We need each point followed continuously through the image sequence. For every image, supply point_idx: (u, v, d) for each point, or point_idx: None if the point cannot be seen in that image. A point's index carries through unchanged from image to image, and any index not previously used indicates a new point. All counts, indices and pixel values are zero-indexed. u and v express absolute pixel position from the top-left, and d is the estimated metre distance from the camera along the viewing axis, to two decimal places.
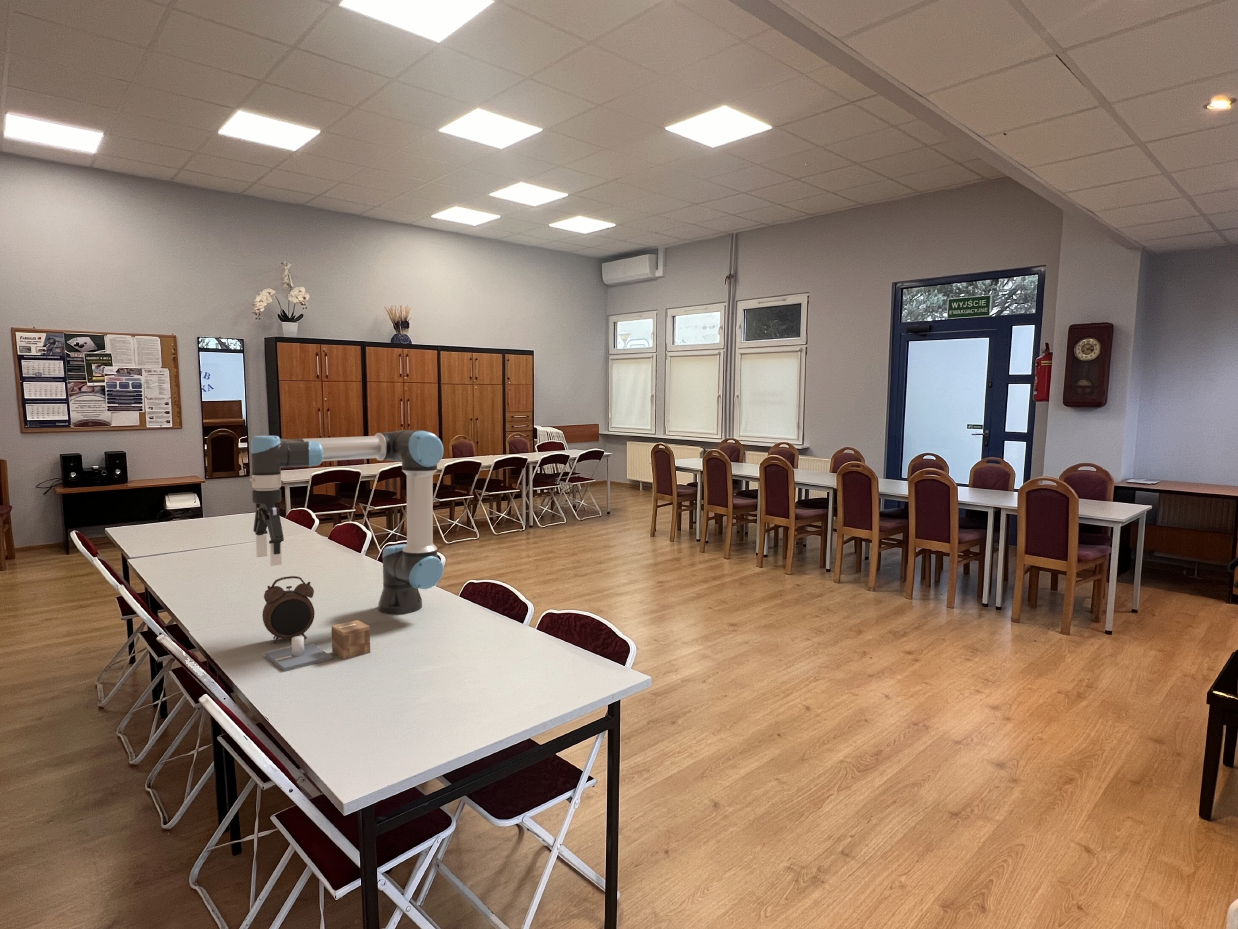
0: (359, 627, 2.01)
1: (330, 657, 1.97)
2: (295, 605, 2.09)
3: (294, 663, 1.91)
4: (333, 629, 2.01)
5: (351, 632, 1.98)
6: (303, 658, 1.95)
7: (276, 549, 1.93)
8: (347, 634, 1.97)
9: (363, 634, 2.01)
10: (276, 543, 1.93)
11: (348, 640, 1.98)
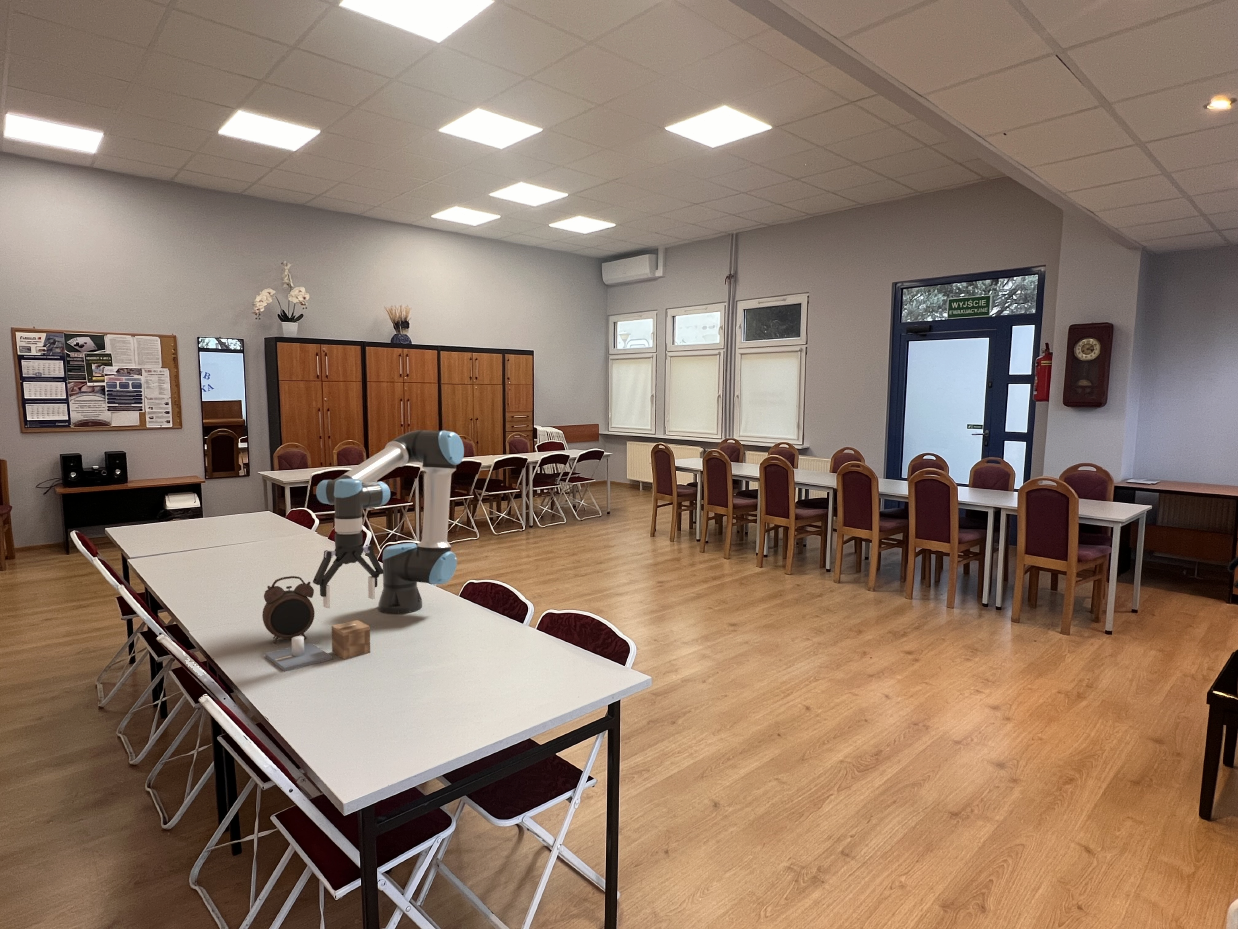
0: (359, 627, 2.01)
1: (330, 657, 1.97)
2: (295, 605, 2.09)
3: (294, 663, 1.91)
4: (333, 629, 2.01)
5: (351, 632, 1.98)
6: (303, 658, 1.95)
7: (320, 591, 1.95)
8: (347, 634, 1.97)
9: (363, 634, 2.01)
10: None
11: (348, 640, 1.98)
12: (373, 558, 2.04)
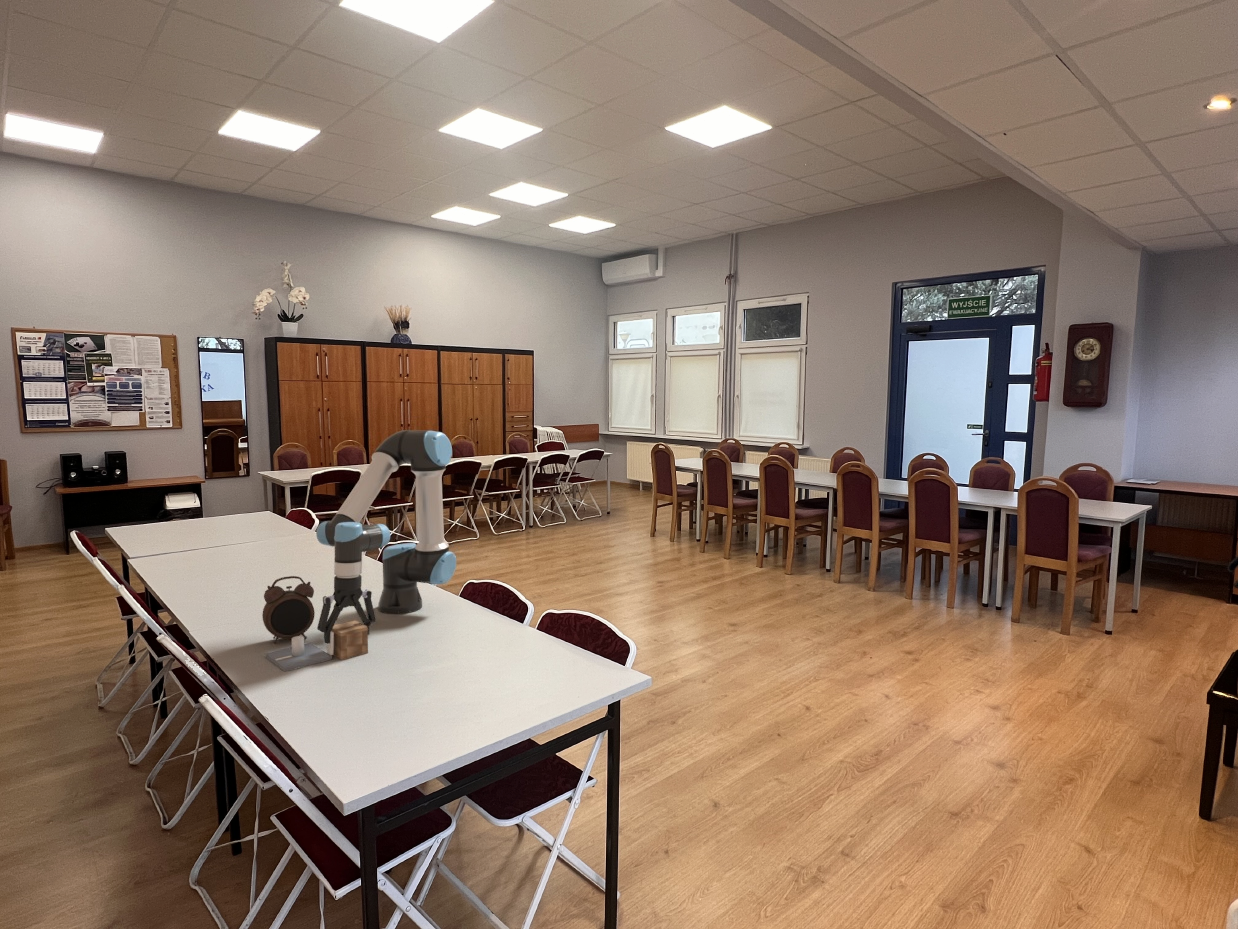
0: (357, 628, 2.00)
1: (330, 657, 1.97)
2: (295, 605, 2.09)
3: (294, 663, 1.91)
4: None
5: (349, 632, 1.98)
6: (303, 658, 1.95)
7: (324, 638, 1.97)
8: (345, 634, 1.97)
9: (361, 635, 2.00)
10: (324, 632, 1.97)
11: (346, 641, 1.97)
12: (369, 604, 2.05)
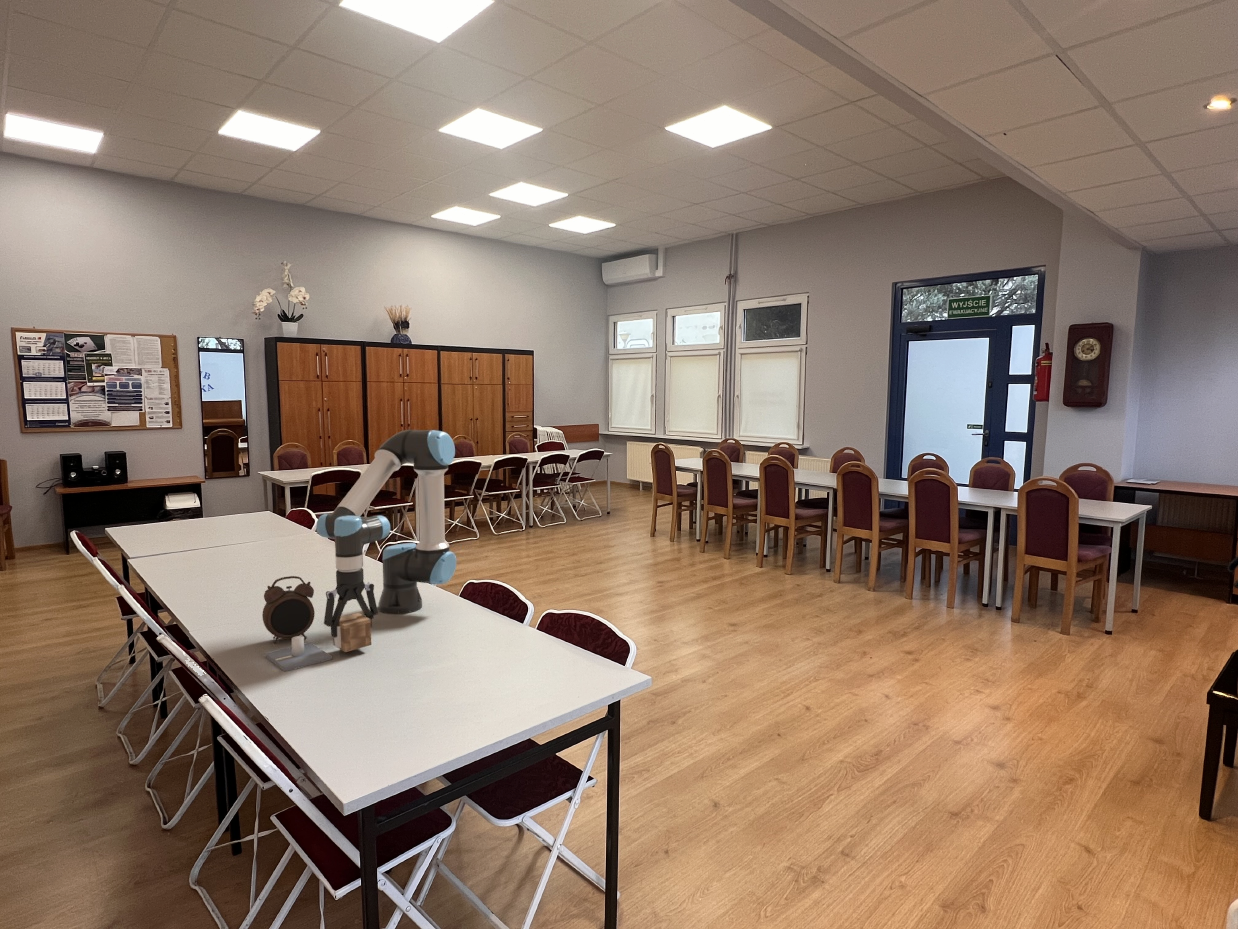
0: (360, 620, 2.01)
1: (330, 657, 1.97)
2: (295, 605, 2.09)
3: (294, 663, 1.91)
4: None
5: (352, 625, 1.99)
6: (303, 658, 1.95)
7: (331, 632, 1.99)
8: (348, 627, 1.98)
9: (364, 627, 2.01)
10: None
11: (349, 633, 1.98)
12: (371, 597, 2.05)
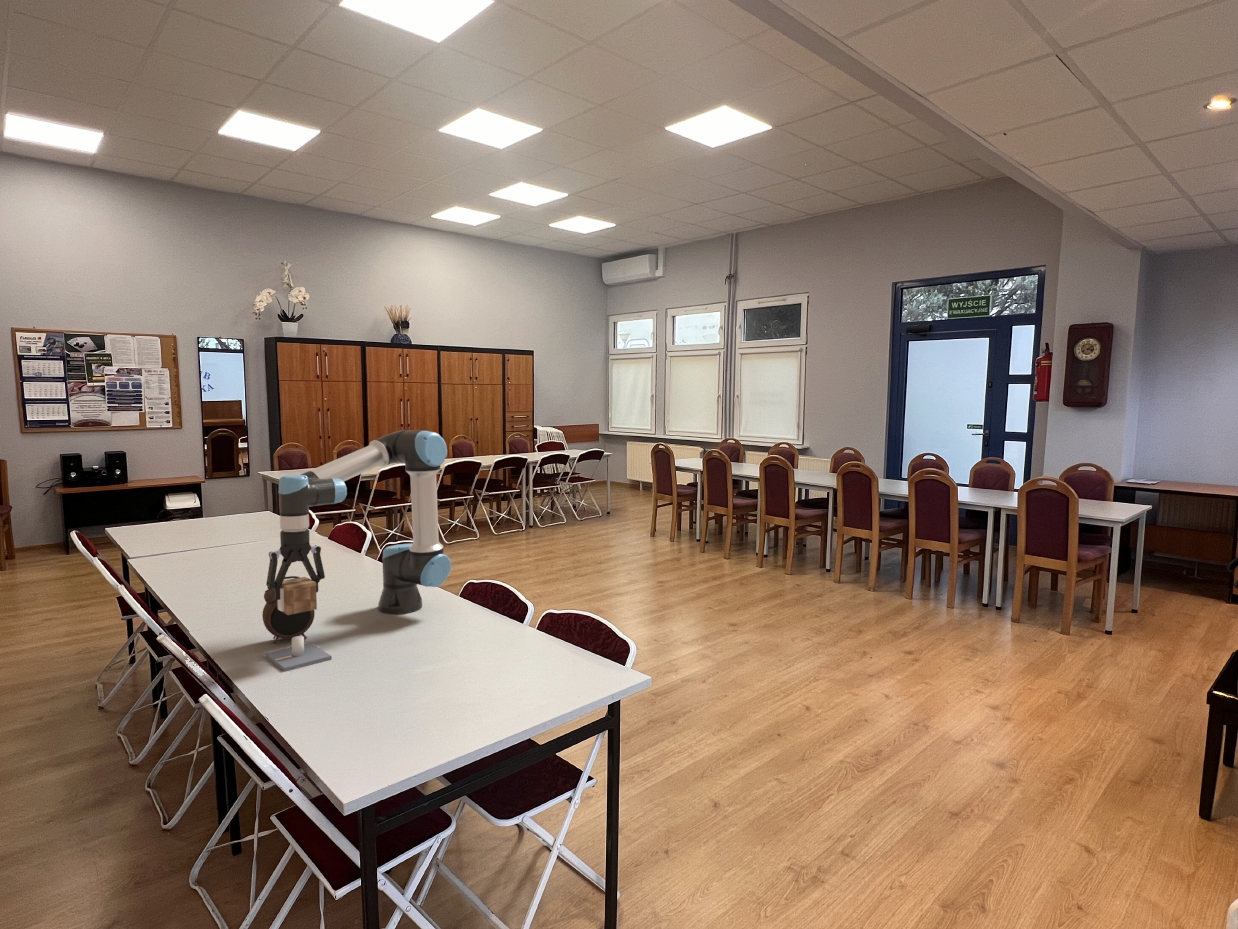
0: (305, 583, 1.94)
1: (330, 657, 1.97)
2: None
3: (294, 663, 1.91)
4: None
5: (296, 587, 1.92)
6: (303, 658, 1.95)
7: (274, 594, 1.92)
8: (292, 589, 1.91)
9: (309, 590, 1.94)
10: None
11: (292, 595, 1.91)
12: (318, 560, 1.99)
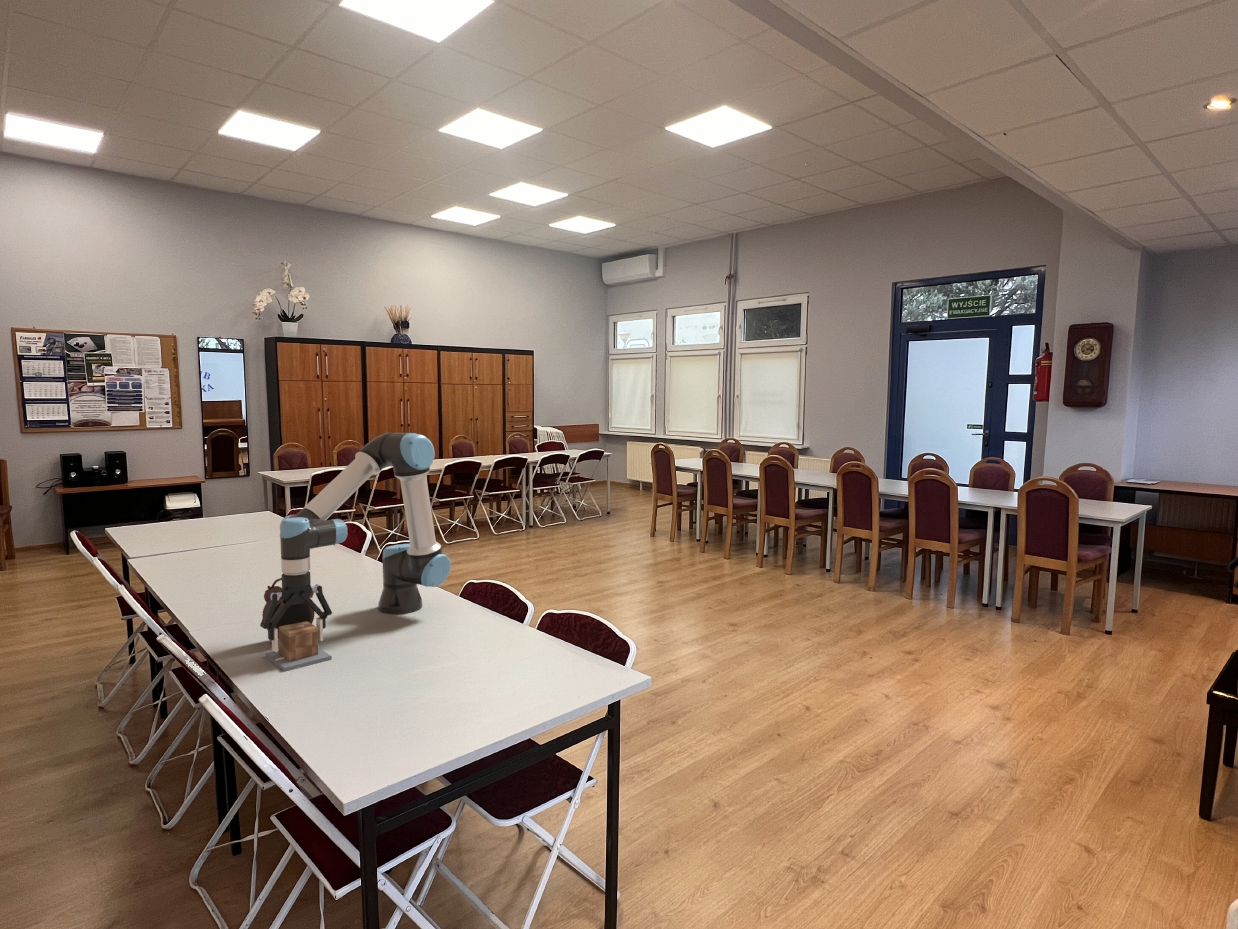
0: (307, 628, 1.96)
1: (330, 657, 1.97)
2: (295, 605, 2.09)
3: (294, 663, 1.91)
4: (280, 630, 1.96)
5: (298, 633, 1.93)
6: (303, 658, 1.95)
7: (268, 635, 1.91)
8: (294, 635, 1.92)
9: (311, 636, 1.96)
10: None
11: (294, 641, 1.93)
12: (322, 599, 2.00)
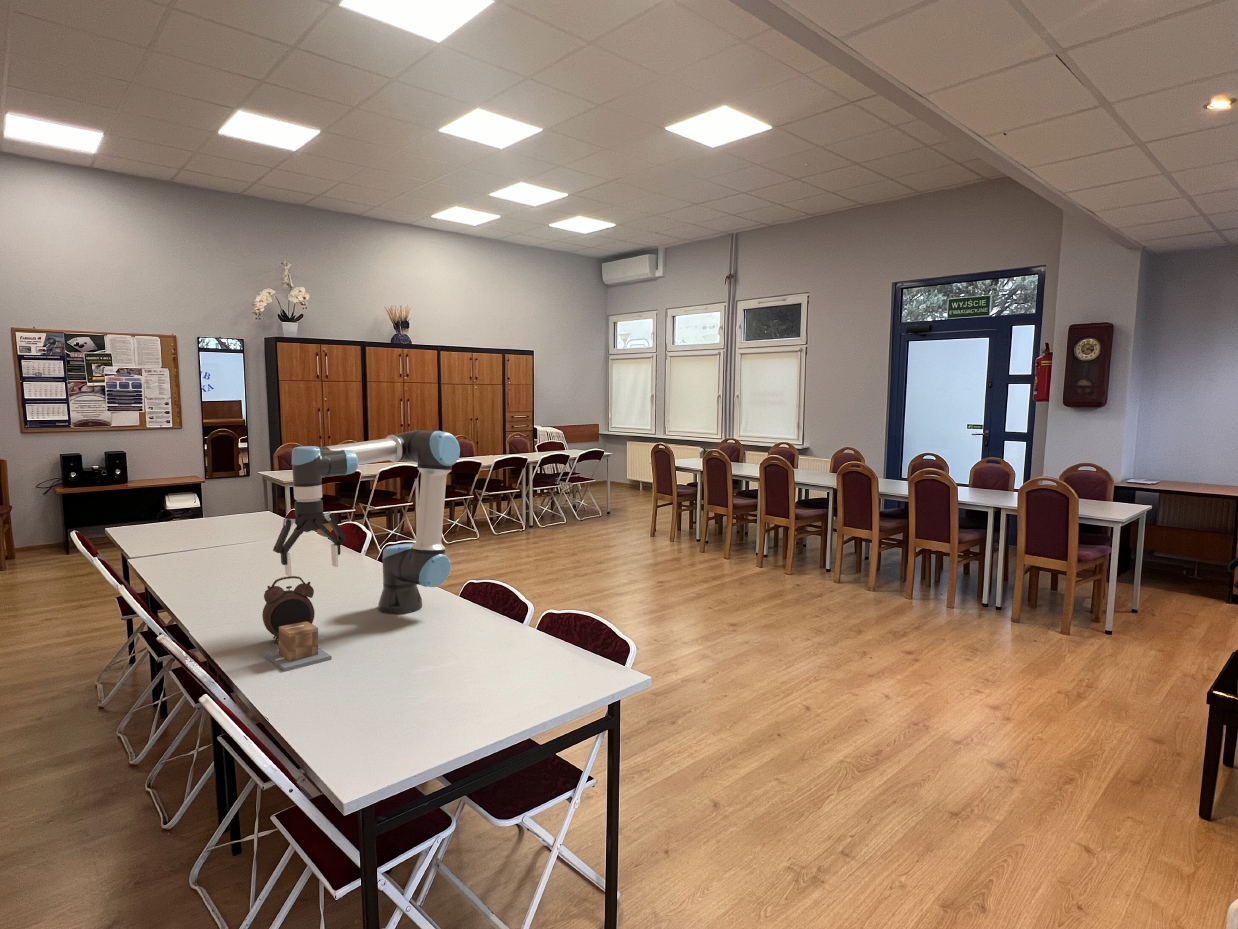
0: (307, 628, 1.96)
1: (330, 657, 1.97)
2: (295, 605, 2.09)
3: (294, 663, 1.91)
4: (280, 630, 1.96)
5: (298, 633, 1.93)
6: (303, 658, 1.95)
7: (281, 559, 1.94)
8: (294, 635, 1.92)
9: (311, 636, 1.96)
10: (280, 553, 1.94)
11: (294, 641, 1.93)
12: (335, 526, 2.03)
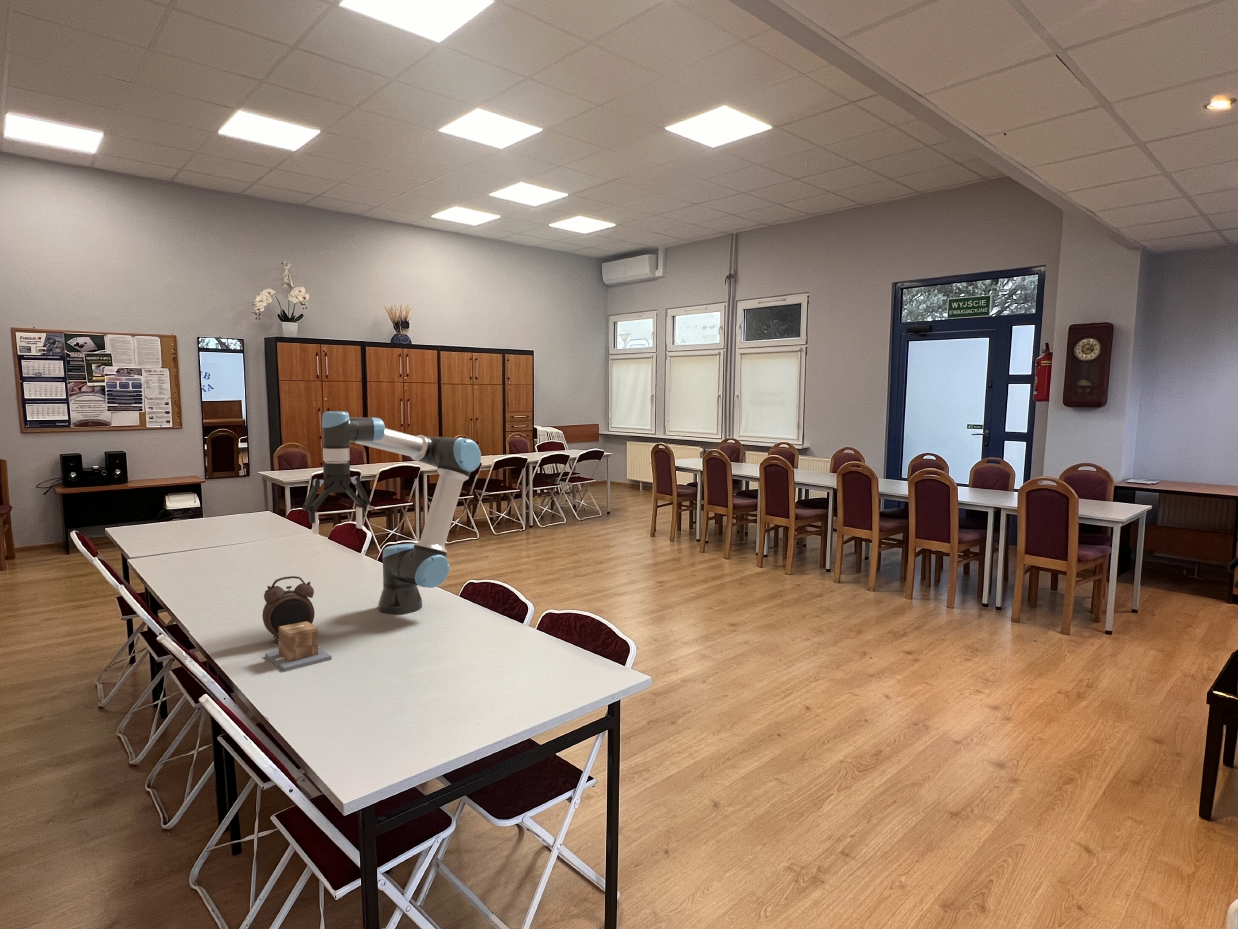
0: (307, 628, 1.96)
1: (330, 657, 1.97)
2: (295, 605, 2.09)
3: (294, 663, 1.91)
4: (280, 630, 1.96)
5: (298, 633, 1.93)
6: (303, 658, 1.95)
7: (309, 518, 2.03)
8: (294, 635, 1.92)
9: (311, 636, 1.96)
10: None
11: (294, 641, 1.93)
12: (360, 489, 2.12)
